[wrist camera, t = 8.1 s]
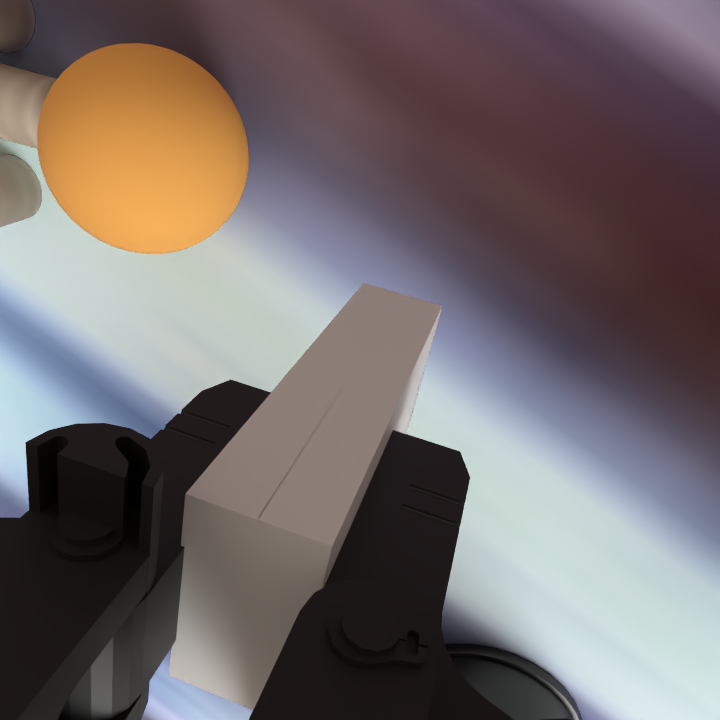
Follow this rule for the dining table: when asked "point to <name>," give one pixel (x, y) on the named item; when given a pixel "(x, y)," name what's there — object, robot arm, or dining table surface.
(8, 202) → the pin
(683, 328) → the dining table surface
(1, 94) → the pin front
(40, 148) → the ball
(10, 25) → the pin
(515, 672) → the french press
